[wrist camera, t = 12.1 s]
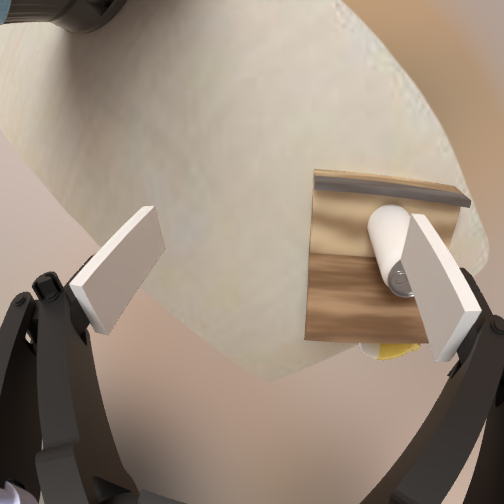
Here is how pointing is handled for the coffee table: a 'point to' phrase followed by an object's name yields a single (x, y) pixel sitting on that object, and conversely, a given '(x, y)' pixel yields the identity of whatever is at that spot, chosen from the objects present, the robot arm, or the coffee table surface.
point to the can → (390, 246)
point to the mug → (386, 350)
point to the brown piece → (366, 256)
